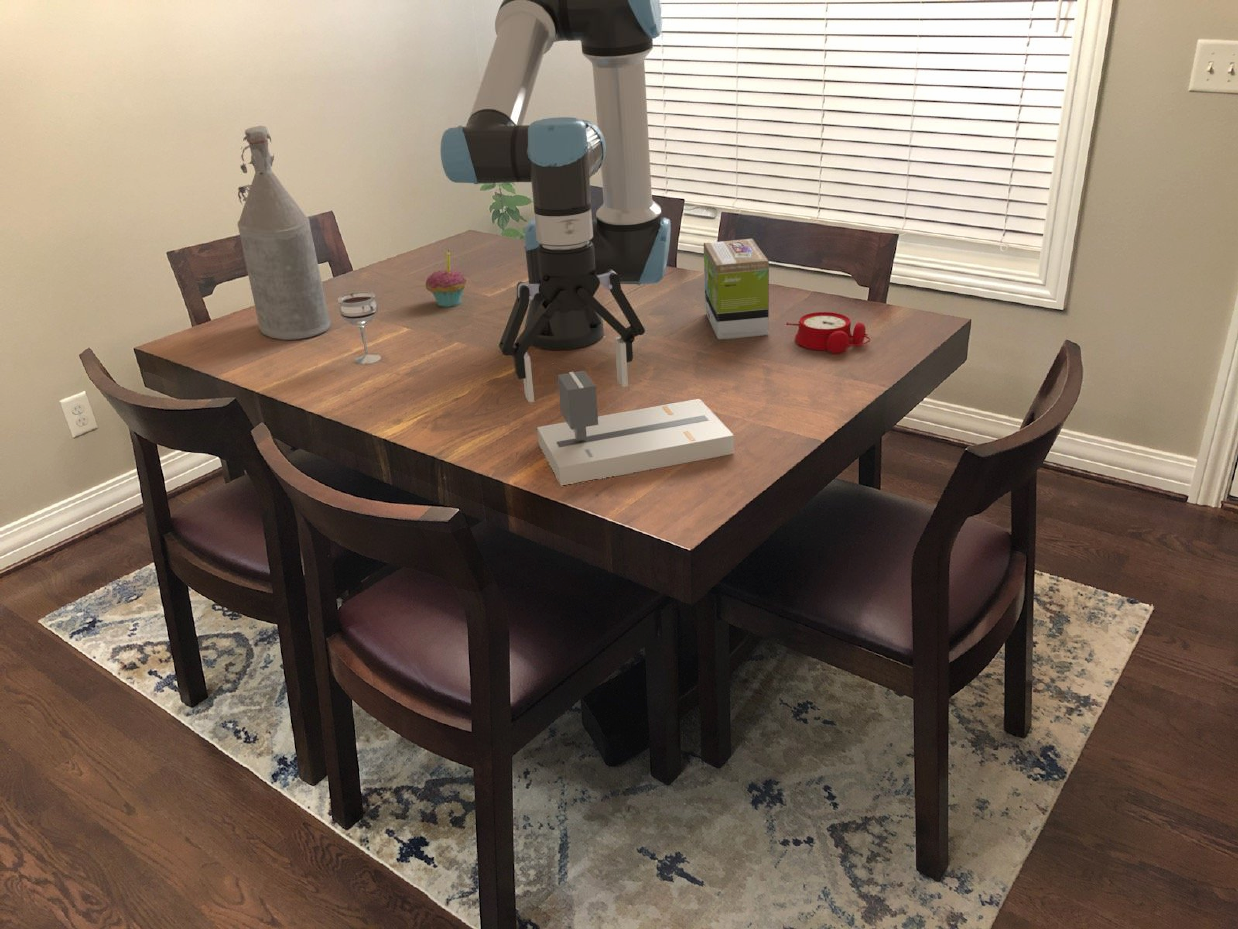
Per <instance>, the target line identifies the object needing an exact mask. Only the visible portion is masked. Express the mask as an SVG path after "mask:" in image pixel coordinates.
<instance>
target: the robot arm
mask: <svg viewBox="0 0 1238 929" xmlns="http://www.w3.org/2000/svg"><path fill="white" fill-rule="evenodd" d="M661 15H662V8H661V1H660V0H502V2H501V4H500V6H499V8H498V10H497V13H496V17H495V20H494V29H495V30H494V31H495V34H496V38H495V40H494V44H493V47H492V49H491V52H490V56H489V59H488V61H487V65H486V68H485V69H484V70H485V71H484V72H483V76H482V80H481V83H480V85H479V88H478V92H477V94H476V97H475V101H474V103H473V106H472V109H471V112H470V115H469V118H468V120H467V123H466V125H465V126H462V125H458V126H456V127H455V126H454V127H449V128H448V129H445V130H444V131H443V134H442V135H441V136H442V137H441V140H440V150H439V151H440V161H441V166H442V168H443V171H444V174H445V175H446V177H447V179H449V180H450V182H453V183H458V184H474V185H481V184H502V183H503V184H505V183H506V184H507V183H508V184H509V183H531V191H532V192H531V193H532V201H533V202H532V203H533V211H534V212H533V214H534V216H533V217H534V218H533V219H531V220H530V221H529V222H528V223H527V224H526V226H525V228H524V247H523V248H524V251H525V258H526V266H527V267H526V269H527V277H528V283H525V282H524V281H518V283H517V285H516V298H515V302H514V304H513V306H512V310H511V312H510V315H509V318H508V319H507V320H508V321H507V323H506V325H505V327H504V331H503V333H502V336H501V339H500V342H499V344H498V348H499V350H500V352H501V353H502V355H503V356H504V357H506V356H507V357H508V356H510V357H511V356H512V357H513V362H514V363H513V366H514V373H515V375H516V376H517V378H518V380H522V379H523V387H524V388H523V389H524V396H525V397H526V400H527V401H528V403H534V402H535V396H534V395H535V394H534V386H533V384H534V383H533V374H532V363H531V356H530V355H529V354H528V350H529V349H530V348H531V346H533V347H534V348H537V349H542V350H543V349H544V350H557V351H558V350H573V349H578V348H582V347H586V346H589V345H592V344H594V343H596V342H598V341H600V340H601V339H602V338H603V337H604V334H605V332H604V322H606V323H607V324H608V325H609V326H610V327H611V328H612V329H613V330H614V331H615V332H616V333H617V334H619V336H618V337H617V336H616V337H614V343H615V362H616V377H617V378H616V380H617V382H618V383H619V385H621V386H622V388H625V387H628V386H629V383H628V382H629V381H628V364H627V363H631V362H633V358H634V355H633V354H634V352H633V351H634V350H633V349H634V348H633V343H634V342H635V340H636V339H635V338H636V337H638V336H644V335H645V332H646V330H645V326H644V325H643V324H642V322H641V320H640V318H639V317H638V315H637V314H636V312H635V310H634V308H633V307H632V305H631V304H630V302H629V300H628V298H627V296H626V295H625V293H624V291H623V290H622V285H637V286H641V285H646V284H651V285H652V284H658V283H659V282H662V280H663V278H664V276H665V273H666V270H667V265H668V257H669V251H670V241H671V231H672V230H671V228H672V227H671V225H672V224H671V220H670V219H669V218H667V217H662V208H661V206H660V205H659V204H658V203H657V202H655V201H654V200H653V195H652V193H653V192H652V178H651V177H652V176H651V159H650V157H651V156H650V142H649V139H650V138H649V125H648V124H649V122H648V103H647V88H646V87H647V86H646V85H647V84H646V83H647V82H646V69H645V68H646V67H645V61H646V58H647V56H648V55H649V54H650V52H651V51H652V50H653V48H654V44H653V43H654V42H653V41H654V40H653V39H656V38H657V37H660V36H661V34H662V27H663V26H662V16H661ZM564 41H565V42H566V41H568V42H571V41H574V42H575V41H580V43H581V45H580V46H581V55H583V56H584V57H585V58H586V59H587V60H588V61H589V62H591V65H592V66H591V67H592V75H593V86H594V87H593V88H594V89H593V90H594V98H595V99H594V100H595V110H596V124H597V125H595V123H593V122H591V121H588V120H585V119H580V118H576V117H572V116H571V117H569V116H568V117H567V116H563V117H562V116H561V117H560V116H559V117H547V118H542V119H539V120H535V121H533V122H531V123H529V124H528V125H527V124H526V125H523V123H524V120H525V117H526V115H527V110H528V107H529V104H530V100H531V97H532V94H533V91H534V87H535V84H536V80H537V79H538V78H537V77H538V74H539V70H540V68H541V64H542V61H543V58H544V55H545V54H546V53H547V52H549V51H550V50H551V48H552V47H553V45H554V43H557V42H564ZM599 169H600V171H601V173H600V174H601V183H602V196H603V204H602V205H600V207H599V208H598V209H597V210H596V213H595V215H596V219H592V217H593V216H592V201H591V177H592V176H594V175H595V174H597V173H598V172H599ZM600 285H603V287H604V288H605V289H606V290H608V291H609V292H610V293H611V295H612V297H613V298H614V300H615V301H616V304H617V305H618V307H619V309H620V311H621V312H622V313H623V314H622V315H624V317H625V319H626V321H627V322H628V324H629V326H627V327H626V326H624V325H623V324H622V323H621V322H620V321H619V320H618V319H617V318H616V317H615V316H614V315H613V314H612V313H611V312H610V311H609V310H608V309H607V308H606V307H604V305H602V303H601V302H600V301H598V300H597V299H596V297H594V296H595V294H596V293H597V291H598V289H599V287H600ZM526 313H527V314H526ZM525 318H526V319H525ZM524 320H525V323H524V328H523V331H522V332H521V333H520V335H519V337H518V334H519V332H520V329H521V326H522V324H523V321H524ZM603 320H604V322H603Z"/></svg>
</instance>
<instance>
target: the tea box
mask: <svg viewBox="0 0 1238 929" xmlns="http://www.w3.org/2000/svg"><path fill="white" fill-rule="evenodd" d="M703 262H704V263H703V266H704V267H703V268H704V269H703V270H704V271H703V272H704V274H703V276H704V302H705V303H704V304H705V308H704V309H705V314H706V316H707V319H708V322H709V324H710V325H711V327H712V330H713V332H714V334H715V336H716V338H717V339H718V340H730V339H731V340H732V339H743V338H751V337H752V338H753V337H762V336H768V335H769V326H770V318H769V316H770V315H769V314H770V313H769V310H770V309H769V308H770V307H769V305H770V299H769V298H770V294H769V292H770V286H769V285H770V282H769V281H770V265H769V264H770V263H769V262H770V261H769V260H768V258H767V257H766V255H765V254H764V253H763V251H762V250H761V249H760V248H759V246H758V245H757V243H756V242H755V240H754V239H753V238H746V239H745V238H744V239H733V240H724V241H714V242H713V241H712V242H703Z"/></svg>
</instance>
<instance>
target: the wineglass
mask: <svg viewBox="0 0 1238 929" xmlns="http://www.w3.org/2000/svg"><path fill="white" fill-rule="evenodd" d="M375 294H376V293H373V292H370V291H356V292H355V291H353V292H349V293H345V294H342V295H341V296H339V297H338V298H337V302H338V303H339V304H340V305H339V312H340V315H341V317H342V319H343V320H344V321H346V322H347V323H349V324H351V325H353V326H357V328H359V330H360V335H361V338H362V343H363V348H364V352H365V354H364V355H360V356H357V357H356V358H354V360H353V362H354V363H356V364H358V365H369V364H374V363H377V362H378V361H380V360H381V359H382V355H379V354H377V353H375V354H374V353H369V352H368V344H367V338H366V333H365V332H366V331H365V328H366V326H367V325H368V323H370V322H372V321H373V319H374V318H375V317H376V315H377V313H378V304H377V302H376V300H375V297H376V295H375Z"/></svg>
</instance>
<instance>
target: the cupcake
mask: <svg viewBox="0 0 1238 929" xmlns="http://www.w3.org/2000/svg"><path fill="white" fill-rule="evenodd" d="M466 286H467V278H466V277H465V275H464V274H462V273H461V272H459V271H457V270H456V269H451V253H450V249H449V248H448V249H447V252H446V269H444V270H443V269H441V270H438V271H435V272H432V274H431V275H429V276H428V277H427V279H426V281H425V289H426V290H427V291H428V292H431V293H432V295H433V296H434V298H435V300H436V303H437V305H438V306H440V307H444V308H447V307H449V308H451V307H455V306H457V305H460V304H461V302H462V296H463V292H464V289H465V288H466Z"/></svg>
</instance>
